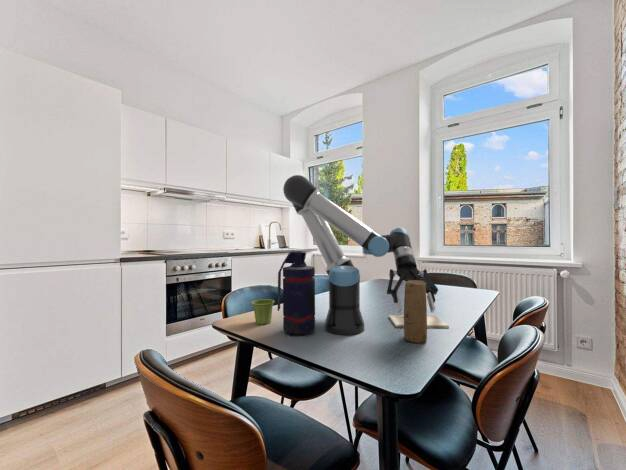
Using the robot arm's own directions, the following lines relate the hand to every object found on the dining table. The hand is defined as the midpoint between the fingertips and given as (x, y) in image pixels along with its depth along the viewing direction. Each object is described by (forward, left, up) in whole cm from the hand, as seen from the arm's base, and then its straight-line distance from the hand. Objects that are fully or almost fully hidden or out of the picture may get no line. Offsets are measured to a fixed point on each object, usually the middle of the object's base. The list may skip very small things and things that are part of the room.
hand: (416, 310), depth 104 cm
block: (0, +1, -10) cm, 10 cm away
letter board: (+6, +20, -10) cm, 24 cm away
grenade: (-42, +7, -10) cm, 44 cm away
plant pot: (-57, +18, -10) cm, 61 cm away
